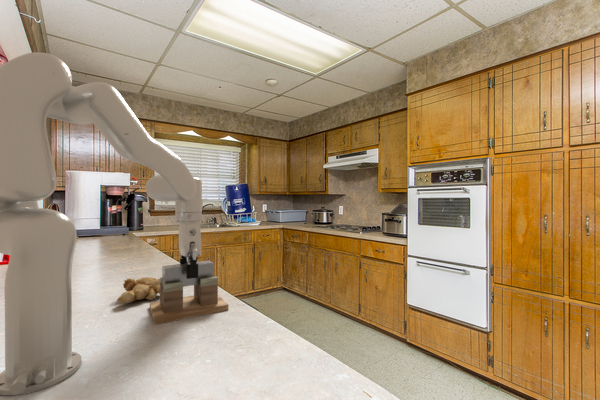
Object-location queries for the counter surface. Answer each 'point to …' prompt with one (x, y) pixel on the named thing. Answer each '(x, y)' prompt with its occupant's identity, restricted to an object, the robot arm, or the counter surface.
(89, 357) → the counter surface
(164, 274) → the bracket bar
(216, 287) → the post rig
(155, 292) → the ginger root
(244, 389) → the counter surface
